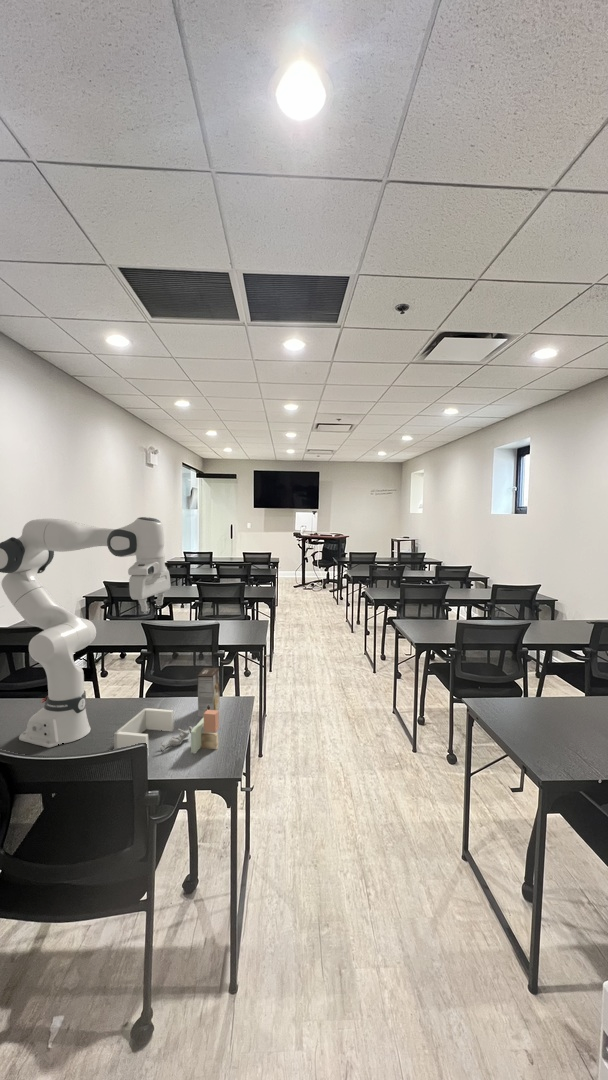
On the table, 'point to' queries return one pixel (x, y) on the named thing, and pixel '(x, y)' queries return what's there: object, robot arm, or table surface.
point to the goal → (143, 727)
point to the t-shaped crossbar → (204, 728)
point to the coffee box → (208, 690)
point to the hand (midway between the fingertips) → (152, 608)
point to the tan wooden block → (209, 740)
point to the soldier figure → (176, 739)
